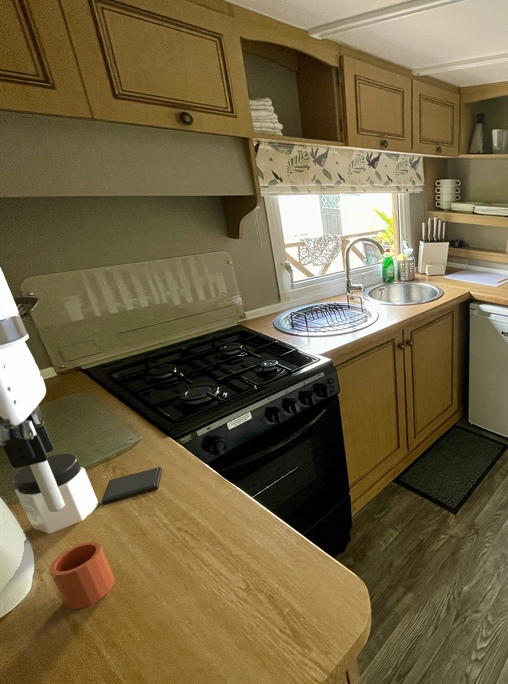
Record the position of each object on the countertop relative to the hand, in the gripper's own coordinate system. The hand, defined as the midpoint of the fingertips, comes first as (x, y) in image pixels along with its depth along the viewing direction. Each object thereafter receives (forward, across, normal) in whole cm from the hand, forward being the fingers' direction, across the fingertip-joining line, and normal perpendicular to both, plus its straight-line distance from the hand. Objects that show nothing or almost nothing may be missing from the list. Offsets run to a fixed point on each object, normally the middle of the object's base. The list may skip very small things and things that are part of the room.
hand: (34, 457), depth 51 cm
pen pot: (+26, 0, 0) cm, 26 cm away
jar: (+26, -22, -8) cm, 35 cm away
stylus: (+9, 0, 0) cm, 9 cm away
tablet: (+26, -26, +1) cm, 37 cm away
